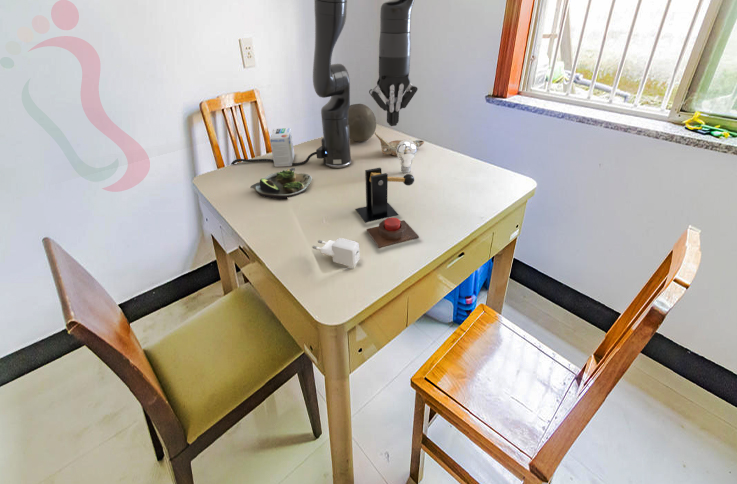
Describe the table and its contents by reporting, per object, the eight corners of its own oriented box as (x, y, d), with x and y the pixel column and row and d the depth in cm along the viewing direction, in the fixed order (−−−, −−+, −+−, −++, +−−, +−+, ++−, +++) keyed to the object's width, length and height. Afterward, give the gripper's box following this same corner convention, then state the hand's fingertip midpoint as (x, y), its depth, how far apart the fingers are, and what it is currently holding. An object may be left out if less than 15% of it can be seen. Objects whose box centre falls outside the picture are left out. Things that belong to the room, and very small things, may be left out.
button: (396, 221, 98) (396, 216, 97) (402, 229, 95) (402, 223, 94) (382, 225, 97) (382, 219, 96) (388, 233, 94) (388, 227, 93)
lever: (409, 182, 107) (412, 172, 106) (414, 187, 105) (417, 177, 103) (368, 181, 102) (370, 170, 100) (372, 186, 99) (375, 174, 98)
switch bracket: (387, 205, 112) (387, 163, 104) (398, 218, 106) (399, 174, 98) (355, 212, 109) (353, 169, 101) (365, 225, 103) (364, 181, 95)
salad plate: (273, 170, 134) (271, 158, 131) (320, 175, 130) (319, 162, 127) (246, 196, 118) (243, 183, 116) (298, 201, 115) (296, 188, 112)
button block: (403, 224, 103) (404, 213, 101) (418, 241, 96) (419, 229, 94) (366, 233, 99) (366, 222, 97) (379, 251, 93) (379, 239, 91)
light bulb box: (277, 156, 145) (272, 128, 139) (295, 155, 145) (291, 127, 139) (274, 167, 136) (269, 138, 130) (292, 166, 137) (288, 137, 130)
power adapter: (311, 260, 90) (308, 240, 87) (321, 249, 94) (319, 230, 91) (353, 272, 87) (351, 251, 83) (361, 260, 90) (361, 240, 87)
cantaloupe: (351, 134, 163) (349, 98, 155) (381, 138, 158) (381, 101, 150) (336, 145, 153) (333, 107, 144) (368, 149, 148) (367, 111, 139)
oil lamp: (370, 154, 144) (369, 128, 138) (417, 144, 151) (419, 119, 146) (380, 162, 138) (380, 135, 132) (429, 151, 145) (431, 126, 139)
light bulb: (415, 169, 132) (417, 136, 125) (415, 178, 126) (417, 144, 119) (396, 169, 132) (396, 136, 125) (395, 178, 127) (395, 143, 120)
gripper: (412, 48, 94) (408, 117, 104) (363, 52, 90) (364, 123, 100) (426, 53, 88) (421, 126, 99) (374, 58, 85) (374, 133, 95)
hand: (392, 125), depth 99 cm, fingers closed
